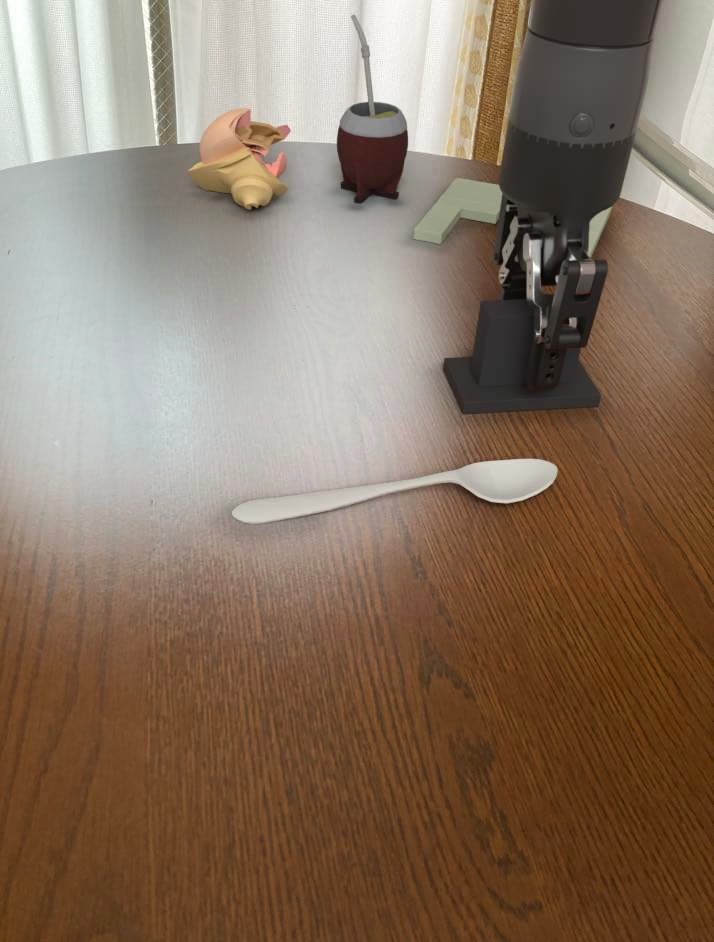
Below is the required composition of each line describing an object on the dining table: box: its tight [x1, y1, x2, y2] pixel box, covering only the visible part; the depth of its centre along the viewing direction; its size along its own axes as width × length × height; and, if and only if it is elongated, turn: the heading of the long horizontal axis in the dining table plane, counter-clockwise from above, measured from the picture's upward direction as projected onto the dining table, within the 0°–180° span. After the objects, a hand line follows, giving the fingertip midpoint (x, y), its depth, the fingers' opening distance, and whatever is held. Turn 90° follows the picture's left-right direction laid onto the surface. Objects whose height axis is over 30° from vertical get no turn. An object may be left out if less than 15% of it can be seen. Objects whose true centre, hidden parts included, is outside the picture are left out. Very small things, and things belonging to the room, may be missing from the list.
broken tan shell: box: [187, 107, 292, 211], centre depth 90 cm, size 9×10×10 cm
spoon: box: [231, 458, 559, 525], centre depth 57 cm, size 4×21×2 cm, turn 100°
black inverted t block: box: [442, 299, 602, 415], centre depth 66 cm, size 10×8×6 cm
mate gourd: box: [336, 14, 409, 204], centre depth 89 cm, size 8×8×15 cm
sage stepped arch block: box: [412, 177, 613, 259], centre depth 88 cm, size 16×14×1 cm
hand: (524, 358), depth 66 cm, fingers open, 7 cm apart
